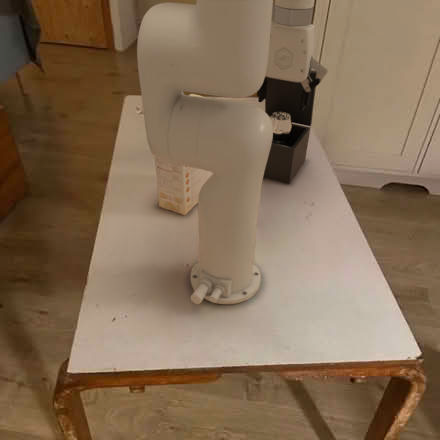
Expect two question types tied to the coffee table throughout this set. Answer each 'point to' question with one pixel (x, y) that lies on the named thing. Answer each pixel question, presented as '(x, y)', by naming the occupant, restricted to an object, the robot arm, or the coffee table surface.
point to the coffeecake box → (179, 185)
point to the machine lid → (289, 99)
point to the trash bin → (287, 155)
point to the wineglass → (281, 126)
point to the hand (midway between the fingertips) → (282, 104)
